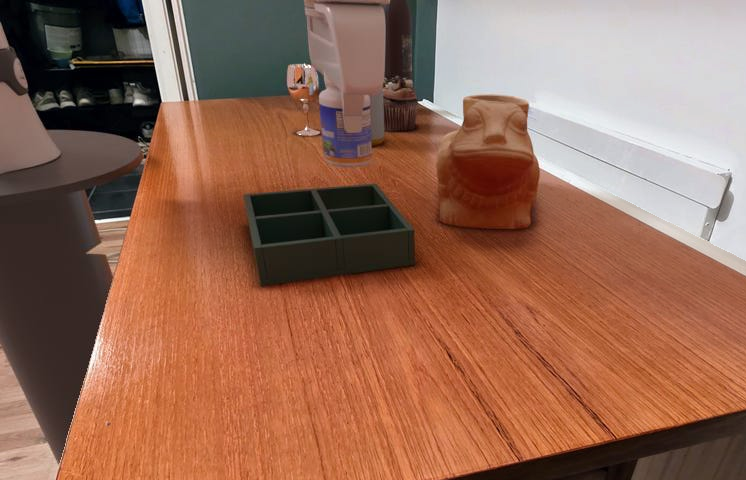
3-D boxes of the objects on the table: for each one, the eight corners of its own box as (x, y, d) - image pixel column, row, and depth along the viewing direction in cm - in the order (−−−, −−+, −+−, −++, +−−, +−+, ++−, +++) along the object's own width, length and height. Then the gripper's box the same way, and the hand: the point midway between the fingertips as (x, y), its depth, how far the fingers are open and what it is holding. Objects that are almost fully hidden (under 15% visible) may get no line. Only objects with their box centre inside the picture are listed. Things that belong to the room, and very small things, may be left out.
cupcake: (428, 127, 115) (428, 76, 110) (397, 134, 108) (396, 80, 103) (393, 119, 119) (392, 70, 114) (362, 126, 112) (359, 74, 107)
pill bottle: (320, 156, 63) (311, 65, 58) (366, 153, 65) (361, 65, 60) (329, 170, 59) (320, 73, 54) (378, 166, 61) (374, 73, 56)
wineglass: (329, 131, 107) (323, 65, 101) (314, 137, 102) (307, 68, 96) (302, 128, 108) (295, 62, 102) (287, 134, 103) (278, 66, 97)
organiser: (260, 286, 53) (254, 248, 51) (249, 227, 65) (243, 194, 63) (415, 264, 59) (414, 229, 57) (377, 214, 71) (376, 183, 69)
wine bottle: (406, 114, 124) (403, -41, 109) (377, 111, 125) (370, -43, 110) (416, 109, 130) (415, -40, 115) (388, 106, 131) (384, -41, 116)
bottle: (391, 144, 102) (389, 56, 94) (358, 148, 97) (353, 57, 90) (372, 135, 106) (367, 51, 98) (339, 140, 102) (332, 52, 94)
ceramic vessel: (427, 240, 65) (428, 108, 57) (442, 174, 87) (444, 73, 79) (543, 246, 65) (560, 115, 57) (528, 179, 87) (539, 78, 80)
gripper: (287, -26, 60) (302, 106, 67) (320, -23, 44) (334, 149, 51) (345, -22, 62) (353, 105, 69) (395, -19, 46) (399, 146, 53)
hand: (345, 124), depth 60 cm, fingers closed on pill bottle, 5 cm apart
